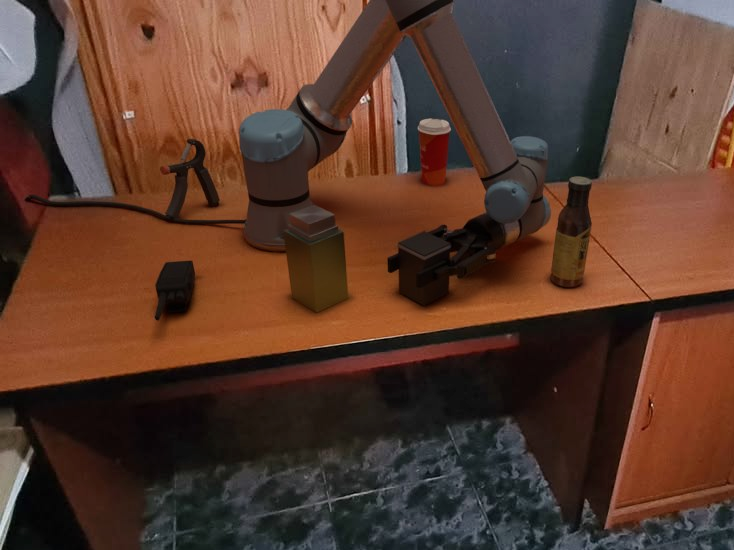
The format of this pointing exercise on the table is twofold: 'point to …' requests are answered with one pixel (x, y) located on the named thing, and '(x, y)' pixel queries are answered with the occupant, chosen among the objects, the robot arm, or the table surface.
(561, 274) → the sauce bottle
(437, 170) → the paper cup
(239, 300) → the table surface
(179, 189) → the hand grip strengthener
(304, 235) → the olive square canister
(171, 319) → the table surface
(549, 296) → the table surface
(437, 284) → the dark lidded box
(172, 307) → the walkie-talkie
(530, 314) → the table surface
